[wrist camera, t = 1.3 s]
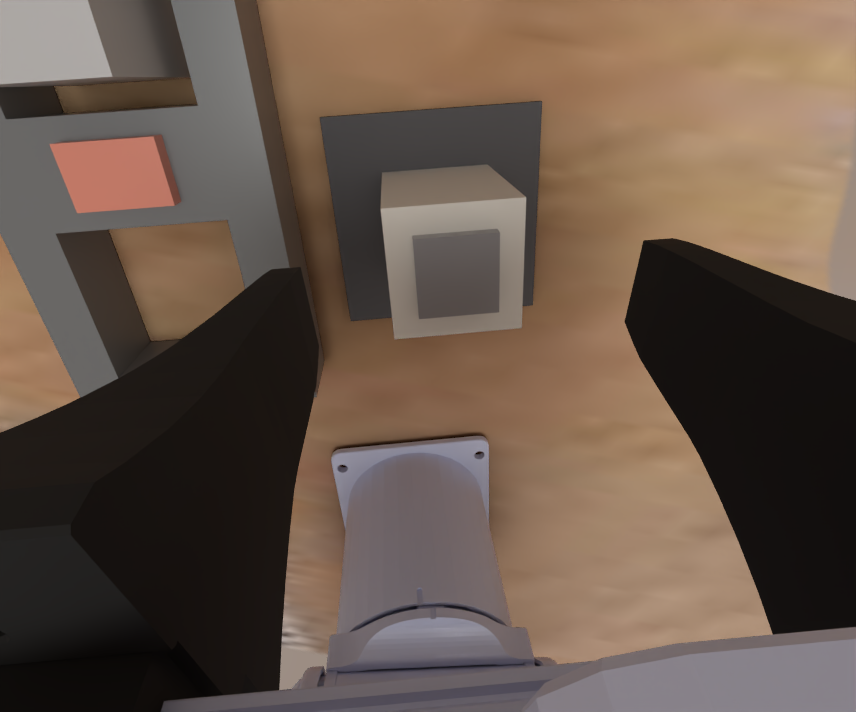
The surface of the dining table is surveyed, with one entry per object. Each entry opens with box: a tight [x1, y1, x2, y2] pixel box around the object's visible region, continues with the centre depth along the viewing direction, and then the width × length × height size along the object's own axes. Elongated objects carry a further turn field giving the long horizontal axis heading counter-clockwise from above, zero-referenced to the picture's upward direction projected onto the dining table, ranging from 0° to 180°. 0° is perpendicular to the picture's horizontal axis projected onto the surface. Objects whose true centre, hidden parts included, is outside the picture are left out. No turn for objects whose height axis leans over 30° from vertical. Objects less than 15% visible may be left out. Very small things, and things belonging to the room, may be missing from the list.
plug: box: [381, 164, 526, 339], centre depth 17 cm, size 4×4×6 cm
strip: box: [0, 0, 324, 397], centre depth 16 cm, size 21×9×6 cm, turn 4°
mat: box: [320, 101, 542, 321], centre depth 20 cm, size 8×8×1 cm
